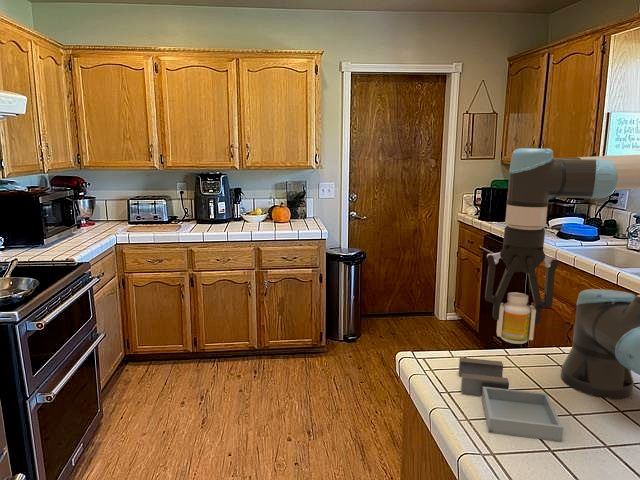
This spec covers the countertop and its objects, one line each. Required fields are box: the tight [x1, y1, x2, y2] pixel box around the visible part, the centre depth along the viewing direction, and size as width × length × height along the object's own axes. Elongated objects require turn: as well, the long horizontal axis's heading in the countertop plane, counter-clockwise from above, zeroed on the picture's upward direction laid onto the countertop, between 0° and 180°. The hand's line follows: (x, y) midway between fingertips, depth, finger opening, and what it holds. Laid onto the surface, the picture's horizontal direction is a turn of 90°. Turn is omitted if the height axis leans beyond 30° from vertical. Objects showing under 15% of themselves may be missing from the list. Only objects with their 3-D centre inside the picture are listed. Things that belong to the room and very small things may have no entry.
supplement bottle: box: [500, 291, 531, 345], centre depth 100 cm, size 5×5×10 cm
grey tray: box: [481, 387, 564, 443], centre depth 100 cm, size 13×13×3 cm
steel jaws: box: [458, 356, 510, 397], centre depth 114 cm, size 10×11×4 cm
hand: (514, 335), depth 100 cm, fingers closed on supplement bottle, 5 cm apart
